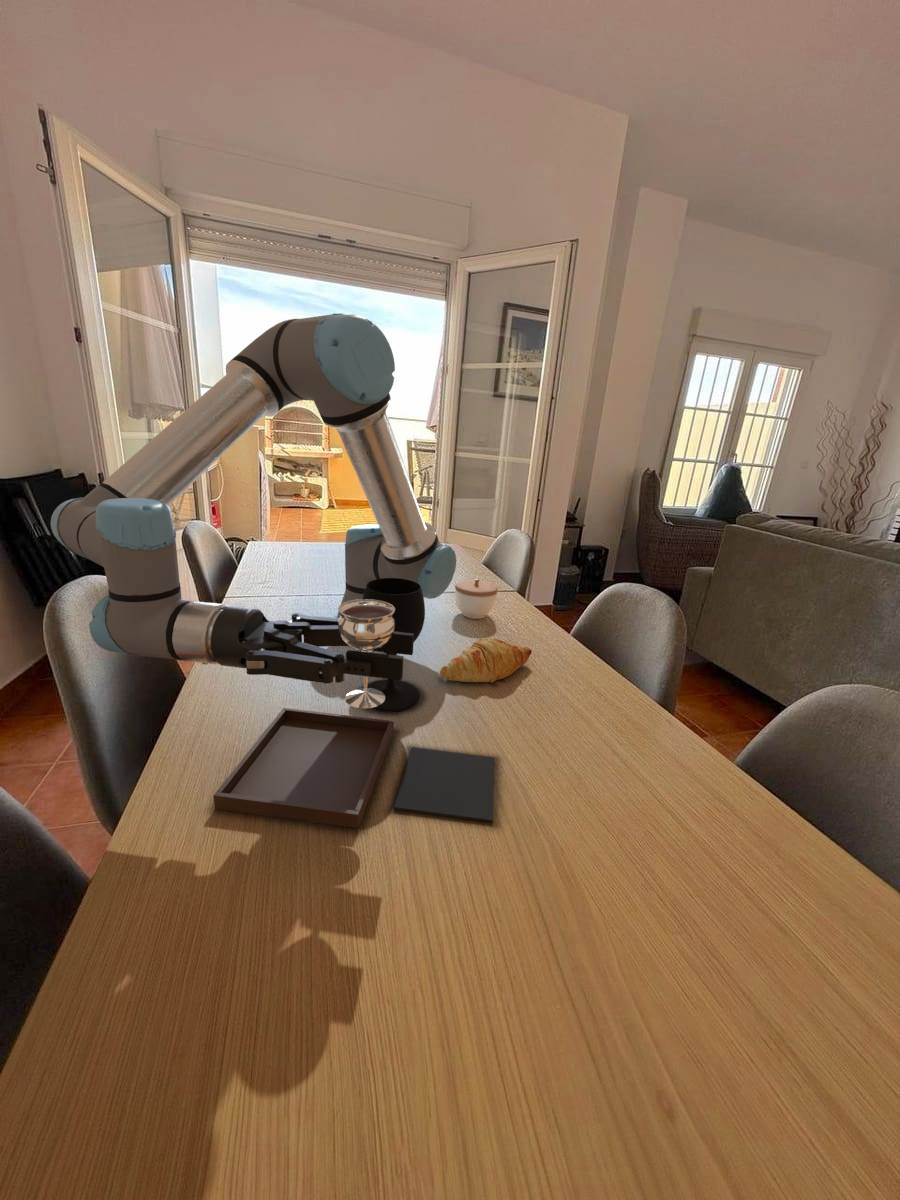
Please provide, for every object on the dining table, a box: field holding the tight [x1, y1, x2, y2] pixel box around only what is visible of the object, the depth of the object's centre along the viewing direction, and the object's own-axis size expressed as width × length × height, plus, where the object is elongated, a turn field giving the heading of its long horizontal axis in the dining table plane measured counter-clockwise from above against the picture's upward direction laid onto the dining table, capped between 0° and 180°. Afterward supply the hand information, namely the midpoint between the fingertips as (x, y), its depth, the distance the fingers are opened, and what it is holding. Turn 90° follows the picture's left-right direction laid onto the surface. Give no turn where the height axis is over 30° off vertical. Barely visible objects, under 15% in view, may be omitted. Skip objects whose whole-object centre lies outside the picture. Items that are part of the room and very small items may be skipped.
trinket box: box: [454, 578, 499, 619], centre depth 122 cm, size 11×11×9 cm
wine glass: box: [362, 578, 426, 713], centre depth 80 cm, size 10×10×20 cm
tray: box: [213, 707, 395, 829], centre depth 65 cm, size 19×17×2 cm
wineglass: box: [337, 599, 395, 709], centre depth 59 cm, size 7×7×12 cm
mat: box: [393, 746, 495, 824], centre depth 64 cm, size 12×12×1 cm
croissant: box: [439, 637, 532, 683], centre depth 93 cm, size 21×10×8 cm, turn 123°
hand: (407, 655), depth 58 cm, fingers closed on wineglass, 6 cm apart
